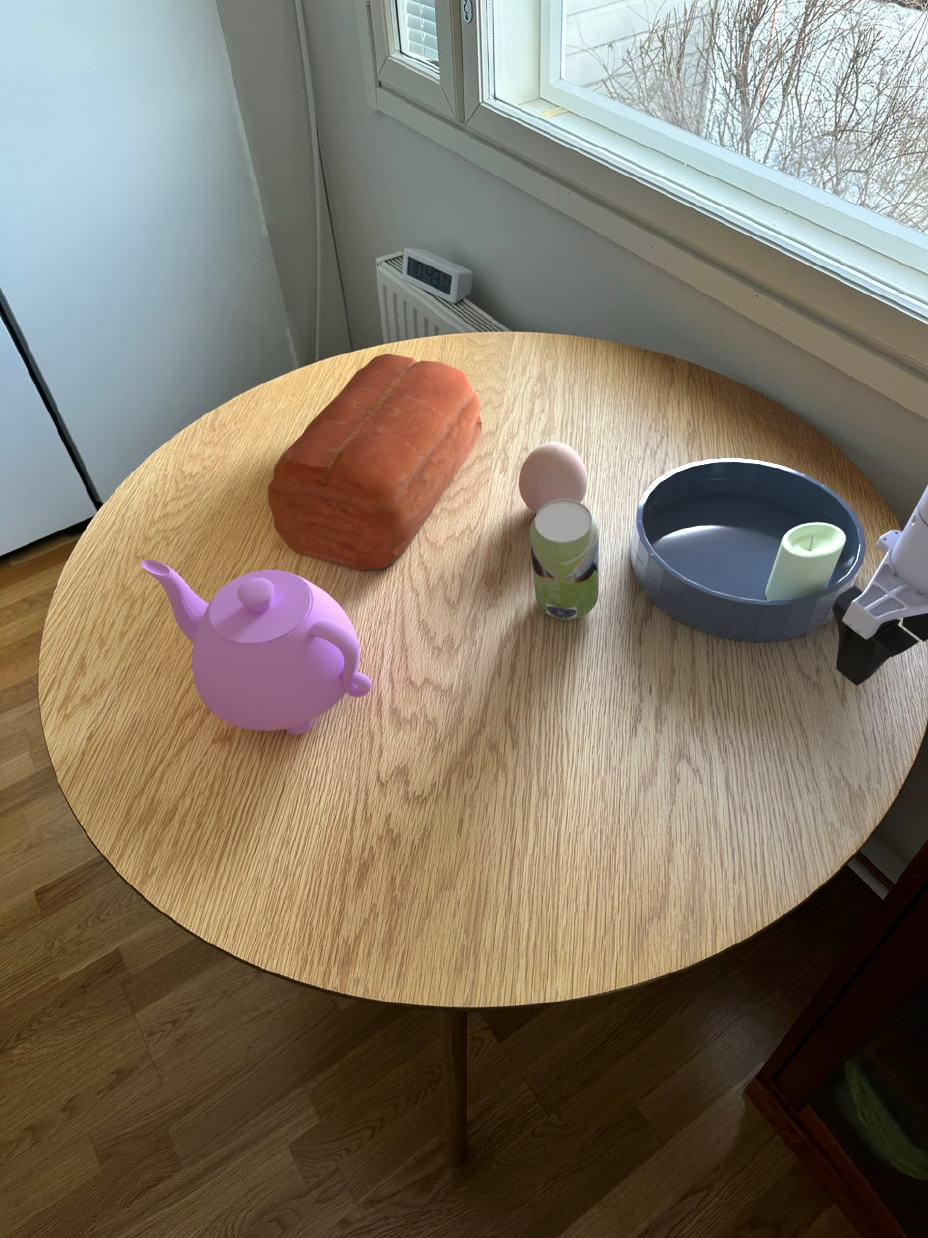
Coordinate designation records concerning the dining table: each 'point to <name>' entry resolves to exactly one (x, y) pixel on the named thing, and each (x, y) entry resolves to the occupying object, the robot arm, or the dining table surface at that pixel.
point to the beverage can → (565, 559)
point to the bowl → (736, 547)
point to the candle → (805, 561)
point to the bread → (375, 462)
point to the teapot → (267, 648)
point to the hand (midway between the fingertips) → (882, 653)
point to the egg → (552, 476)
